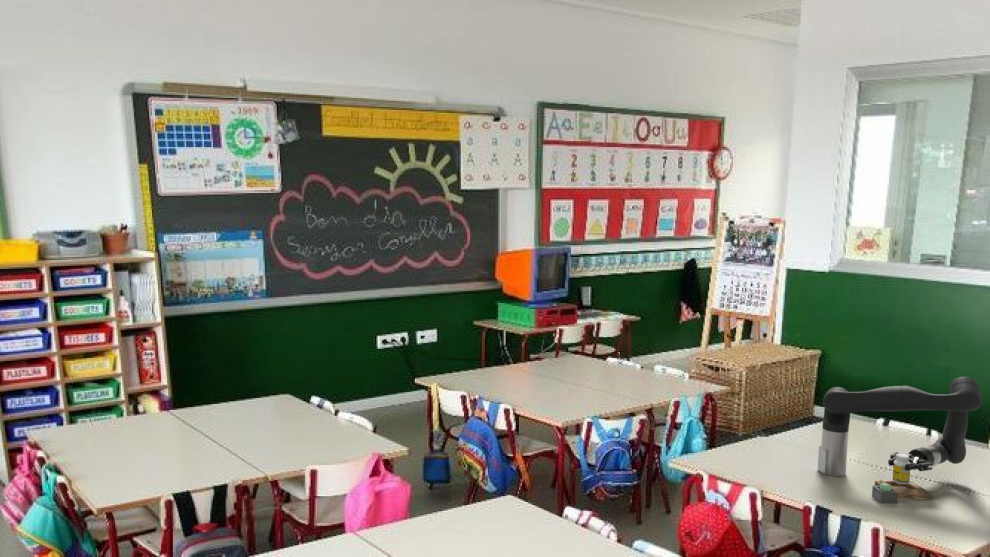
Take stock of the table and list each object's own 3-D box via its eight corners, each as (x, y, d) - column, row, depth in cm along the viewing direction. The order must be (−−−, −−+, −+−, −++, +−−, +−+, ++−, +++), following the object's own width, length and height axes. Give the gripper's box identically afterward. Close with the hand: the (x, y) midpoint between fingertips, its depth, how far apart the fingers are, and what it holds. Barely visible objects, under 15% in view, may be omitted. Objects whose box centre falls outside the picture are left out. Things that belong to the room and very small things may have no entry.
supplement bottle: (889, 478, 271) (891, 452, 270) (904, 479, 271) (906, 453, 270) (897, 484, 265) (898, 457, 264) (912, 484, 265) (914, 458, 264)
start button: (882, 495, 260) (883, 486, 260) (877, 491, 264) (877, 483, 263) (892, 495, 260) (893, 486, 260) (887, 491, 264) (888, 483, 263)
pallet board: (893, 498, 264) (894, 490, 263) (874, 484, 276) (875, 476, 276) (932, 499, 264) (933, 490, 263) (912, 485, 277) (912, 477, 276)
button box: (880, 503, 259) (881, 492, 259) (871, 496, 265) (872, 485, 265) (897, 503, 259) (898, 492, 259) (888, 496, 265) (889, 485, 265)
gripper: (943, 473, 269) (916, 481, 260) (905, 461, 281) (878, 469, 273) (945, 453, 268) (918, 461, 260) (906, 442, 280) (879, 449, 272)
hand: (897, 465), depth 266 cm, fingers closed on supplement bottle, 5 cm apart
